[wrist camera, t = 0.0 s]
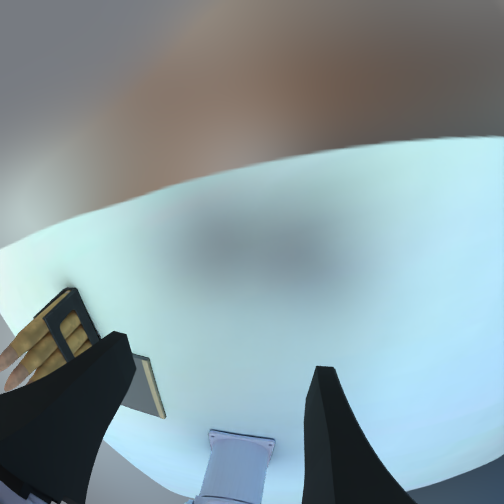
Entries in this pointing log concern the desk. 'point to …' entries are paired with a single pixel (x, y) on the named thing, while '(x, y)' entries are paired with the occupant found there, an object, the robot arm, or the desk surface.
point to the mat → (144, 390)
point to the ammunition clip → (50, 339)
